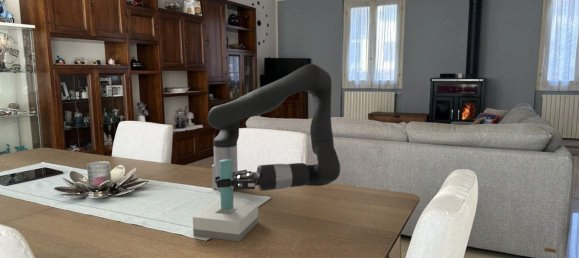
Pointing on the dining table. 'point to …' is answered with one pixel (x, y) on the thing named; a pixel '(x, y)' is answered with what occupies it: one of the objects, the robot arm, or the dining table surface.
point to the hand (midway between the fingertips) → (216, 181)
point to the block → (225, 221)
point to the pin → (226, 192)
